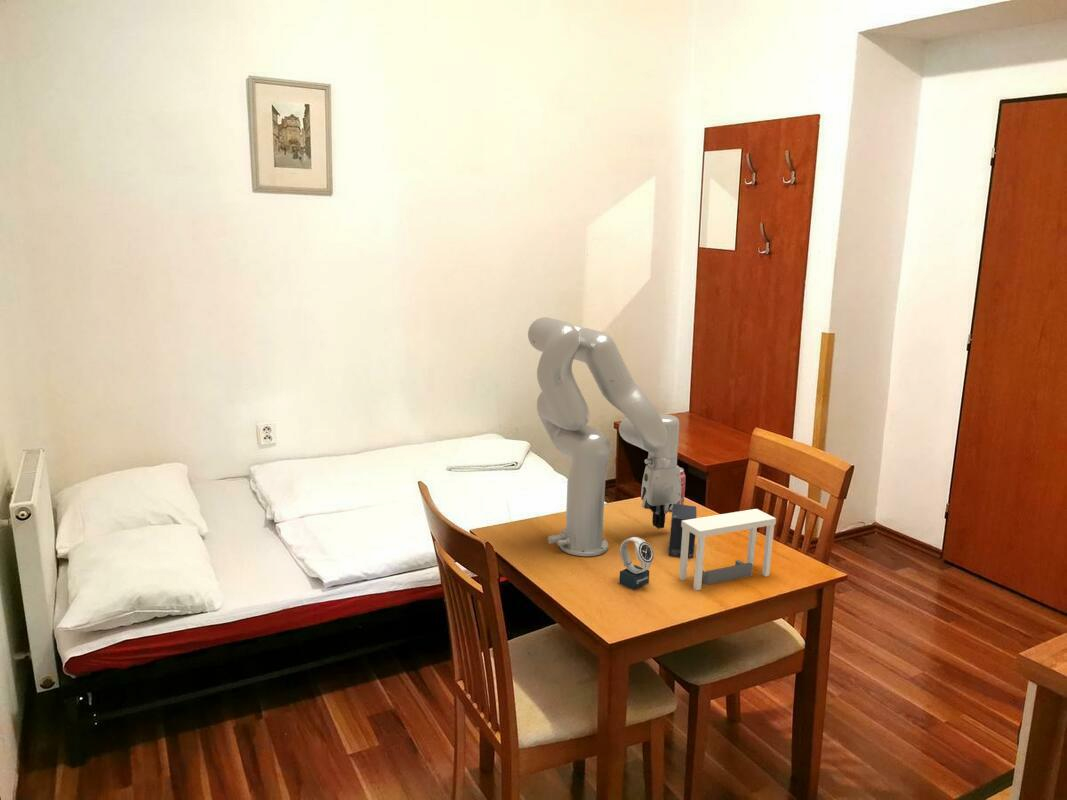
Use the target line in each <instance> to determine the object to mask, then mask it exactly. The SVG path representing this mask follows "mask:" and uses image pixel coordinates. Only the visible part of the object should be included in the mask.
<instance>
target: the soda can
mask: <svg viewBox="0 0 1067 800" xmlns="http://www.w3.org/2000/svg"><path fill="white" fill-rule="evenodd" d="M679 469H680V475H681V498H680V501H678V503H677V504H680V505H685V504H684V503H685V492H686V474H685V473H686V472H685V469H684V468H683V467H680V466H679ZM672 509H673V506H671V507H670V508H669V509H668V512H669V511H670V512H672Z"/></svg>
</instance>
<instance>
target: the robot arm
mask: <svg viewBox="0 0 1067 800" xmlns="http://www.w3.org/2000/svg"><path fill="white" fill-rule="evenodd" d="M527 338H528V341H529V343H530V345H531V346H532V347H533V348H534V349H535V350H537V351H539V352H541V355H540V357H539V360H538V364H537V369H536V378H537V379H536V380H537V383H538V385H539V387H540V390H541V391H540V393H539V395H538V397H537V400H536V410H537V414H538V417H539V419H540V421H541V423H542V425H543V427H544V429H545V431H546V433H547V435H548V437H549V438H550V441H551V443H552V444H553V446H554V447H555V449H556V450H557V451H558V452H559V453H561V454H562V455H563V456H565V457H567V458H569V459H570V460H572V463H571V466H570V467H571V468H570V469H569V472H568V475H567V484H566V488H567V489H566V513H565V514H566V515H565V528H562V529H561V532H560V533H559V534H556V535H555V534H553V535H549V536H547V542H548V544H557V546H558V547H559V548H560V550H561V551H563V552H565V553H566V554H569V555H572V556H578V557H595V556H600V555H602V554H604V553H606V552H607V551H608V549H609V543H608V541H607V540H606V539H604V538H603V537H604V536H603V535H604V515H605V514H604V513H605V495H606V493H605V491H606V474H607V469H608V466H609V465H608V464H609V460H610V456H611V455H610V454H611V444H610V441H609V439H608V437H607V436H606V435H605V434H604V433H603V432H602V431H601V430H599V429H596V428H594V427H592V426H590V425H587V424H588V422H589V420H590V409H589V406H588V404H587V401H586V399H585V397H584V396H583V393H582V391H581V389H580V387H579V385H578V382H577V381H576V378H575V376H574V374H573V362H574V360H576V361H579V362H582V363H585V364H586V366H587V368H588V370H589V371H590V373H591V375H592V377H593V379H594V381H595V383H596V385H597V387H598V389H599V391H600V393H601V395H602V396H603V398H605V400H606V401H607V402H608V403H610V404H611V406H613V407H614V408H615V409H617V410H619V411H620V413H622V414H623V415H624V418H623V419H622V420H621V421H620V424H619V425H618V432H619V435H620V437H621V438H622V440H624V441H625V442H626V443H628V444H631V445H633V446H634V447H638V448H640V449H641V450H644V451H646V452H648V455H647V458H646V459H644V463H645V468H644V473H643V477H642V481H641V482H642V484H641V490H640V491H641V492H640V494H641V495H640V496H641V497H640V498H641V499H640V500H642V503H641V508H643V509H645V510H650V511H651V512H652V520H651V521H652V526H653V527H655V528H657V529H659V530H660V529H664V528H665V522H666V515H667V514H668V512H669V511H668V509H669V508H670V507H671V506H673V504H677V503H678V501H680V498H681V475H680V469H679V467H680V466H679V465H678V453H679V452H678V451H679V450H678V449H679V436H680V419H679V418H678V416H676V415H672V414H665V413H663V414H662V413H661V414H660V412H659V411H658V410H657V408H656V406H655V405H654V403H653V402H652V401H651V400H650V398H649V397H648V396H647V395H646V393H645V392H644V391H643V390H642V389H641V387H640V386H639V385H638V384H637V383H636V381H635V380H634V379H633V377H632V375H631V373H630V371H629V369H628V367H627V365H626V363H625V361H624V359H623V357H622V355H621V353H620V350H619V349H618V346H617V345H616V343H615V341H614V339H613V338H612V337H611V336H610V335H609V334H607V333H605V332H602V331H599V330H595V329H591V328H588V327H584V326H578V325H574V324H571V323H569V322H566V321H563V320H559V319H556V318H551V317H547V316H546V317H545V316H543V317H540V318H537V319H536V320H534V321H533V322H532V323H531V324H530V326H529V328H528V331H527Z"/></svg>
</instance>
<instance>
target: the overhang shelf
mask: <svg viewBox="0 0 1067 800" xmlns="http://www.w3.org/2000/svg"><path fill="white" fill-rule="evenodd" d="M776 523H777V518H776V517H775V516H772V515H770V514H768V513H766V512H764V511H762V510H760V509H758V508H753V509H746V510H739V511H734V512H727V513H720V514H716V515H715V514H714V515H709V516H703V517H701V516H700V517H697V518H695V519H689V520H683V521H682V523H681V527H683V529H682V543H681V557H679V573H678V578H679V579H680V580H681V581H686V580H687V574H688V573H687V572H688V561H689V560H688V559H689V558H688V547H689V534H690V532H691V533H693V534H694V535H695V537H696V538H697V541H696V551H695V553H696V554H695V566H694V567H695V568H694V580H693V590H695V591H701V590H702V583H704V584H705V585H706V586H709V585H712V584H718V583H723V582H728V581H733V580H738V579H743V578H748V577H752V576H753V575H752V574H753V567H754V565H755V563H754V562H755V552H756V542H757V541H756V540H757V531H758V530H757V529H758V528H762V527H766V530H765V540H764V551H763V561H762V571H761V575H763V576H764V577H770V574H771V573H770V572H771V563H772V551H773V543H774V542H773V541H774V534H775V533H774V532H775V525H776ZM745 530H749V531H748V542H747V543H748V544H747V551H746V552H747V553H746V562H745V563H744V562H743V561H741V560H740V559H738V560H735V561H734V563H735V564H734V565H730V566H726V567H720V568H716V569H710V570H705V571H704V570H703V569H704V568H703V566H704V557H705V545H706V537H711V536H716V535H722V534H728V533H734V532H738V531H739V532H740V531H745Z"/></svg>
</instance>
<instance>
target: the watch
mask: <svg viewBox="0 0 1067 800" xmlns="http://www.w3.org/2000/svg"><path fill="white" fill-rule="evenodd" d="M629 542H633V545H634V548H635V549H634V551H635V553H634V554H635V557H636V559H637V560H638V562H640V565H641V566H639V565H637V564H633V563H632V562H633V561H632V559H631V556H630V552H629V550H628V543H629ZM619 549H620V550H619V554H620V558H621V561H622V564H623V566H624V567H625V568H624V569H623V570H620V571H619V582H618V584H619V585H621V586H623V587H625V588H627V589H630V590H633V591H636V590H638V589H639V588H641V587H644V586H646V585H648V584H649V582H650V570H649V569H650V567H651V565H652V564H653V560H654V549H653V547H652V546H651V544H650V543H649V542H647V541H645V539H643V538H640V537H639V536H632V537H630V538H627V539H624V540H623V541H622V542H621V544H620V548H619Z"/></svg>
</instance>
